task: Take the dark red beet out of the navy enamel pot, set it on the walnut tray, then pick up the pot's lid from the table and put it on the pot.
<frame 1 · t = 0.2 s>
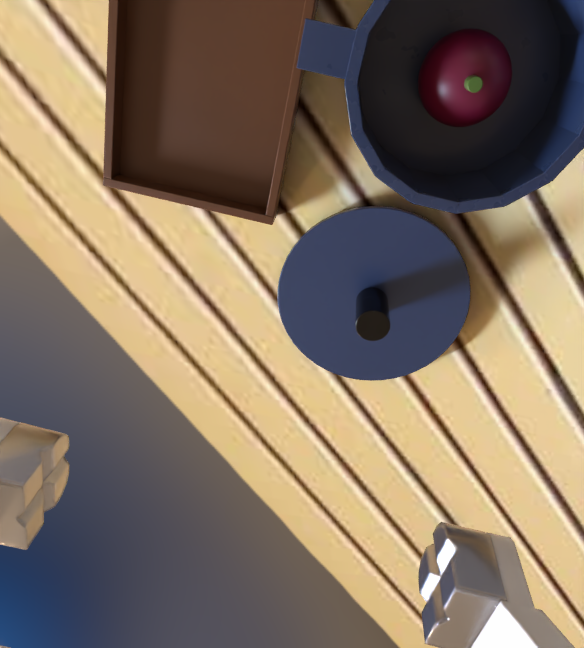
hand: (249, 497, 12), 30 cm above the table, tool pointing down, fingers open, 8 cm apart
beet: (456, 76, 34), resting on pot
lid: (371, 298, 41), point 1 cm above the table
pot: (455, 75, 34), on the table
tray: (210, 71, 36), on the table
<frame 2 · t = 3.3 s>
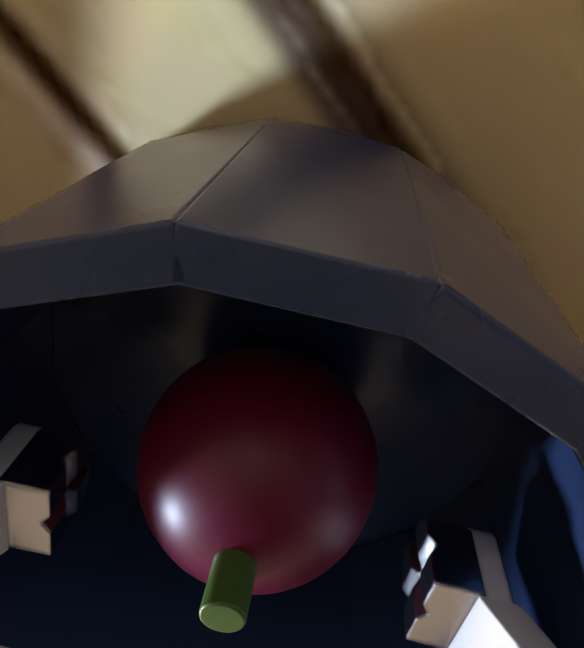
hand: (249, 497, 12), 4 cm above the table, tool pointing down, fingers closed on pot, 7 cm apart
beet: (275, 393, 14), resting on pot
pot: (278, 382, 15), on the table
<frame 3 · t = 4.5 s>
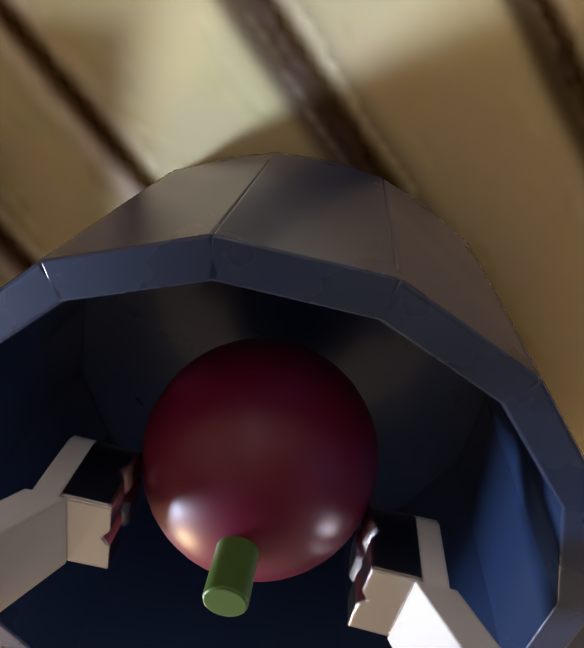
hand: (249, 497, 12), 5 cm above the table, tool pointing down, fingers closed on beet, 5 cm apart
beet: (277, 385, 14), point 2 cm above the table, touching gripper
pot: (279, 376, 17), on the table
when the fingers open (4 cm above the table, at t = 10.1 s): beet stays where it is, resting on tray.
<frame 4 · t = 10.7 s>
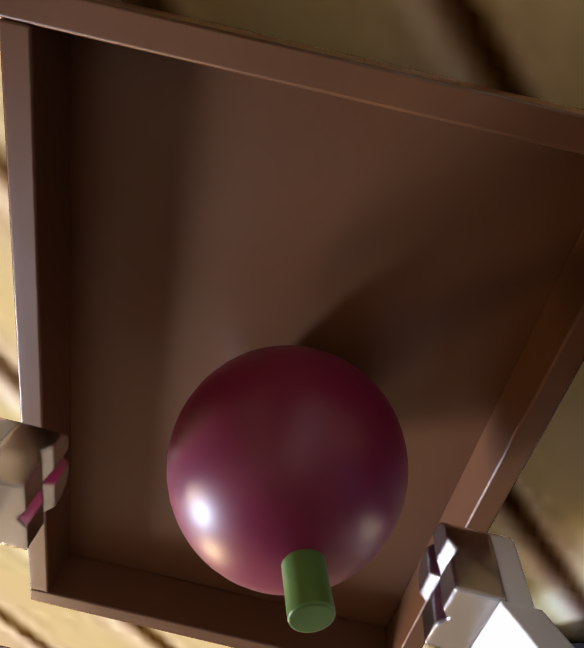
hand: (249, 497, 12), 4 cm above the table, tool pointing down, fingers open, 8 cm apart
beet: (276, 393, 14), point 1 cm above the table, tilted 13°, touching tray
tray: (273, 394, 15), on the table
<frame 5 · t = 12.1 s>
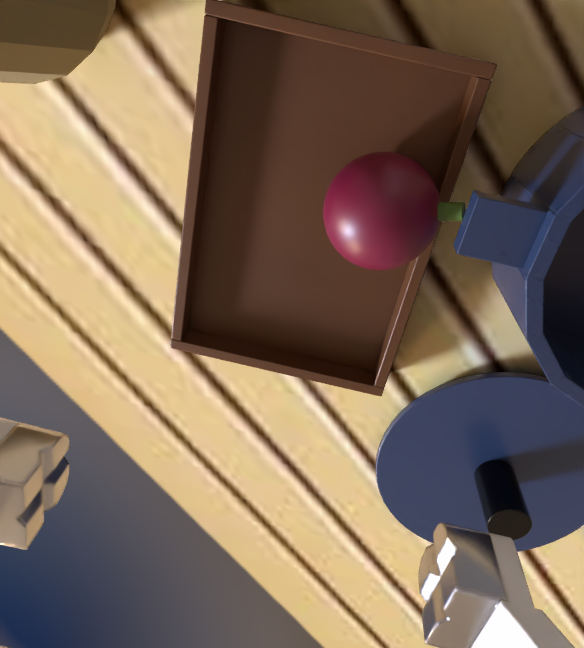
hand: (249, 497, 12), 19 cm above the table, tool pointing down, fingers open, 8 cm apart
beet: (327, 212, 25), point 2 cm above the table, tilted 72°, touching tray
lid: (492, 468, 34), point 1 cm above the table
tray: (311, 216, 28), on the table
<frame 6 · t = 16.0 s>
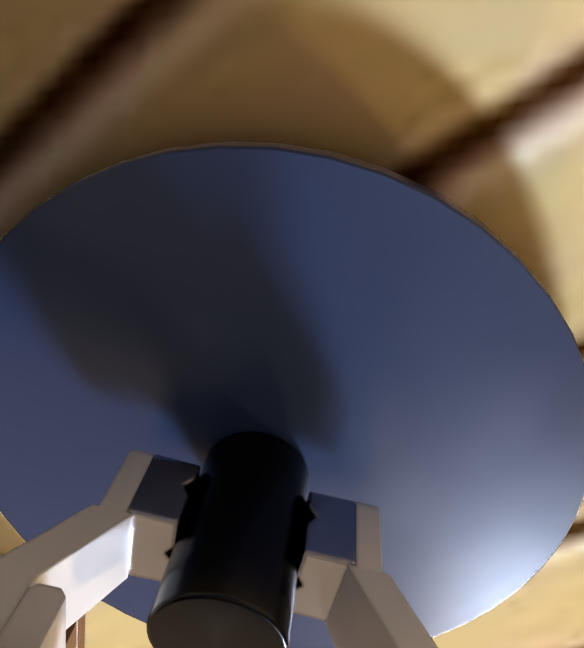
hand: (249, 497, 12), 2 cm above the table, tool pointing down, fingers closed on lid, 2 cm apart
lid: (260, 456, 13), point 1 cm above the table, touching gripper
when the fingers open (8 cm above the table, at t = 21.5 s): lid stays where it is, resting on pot.
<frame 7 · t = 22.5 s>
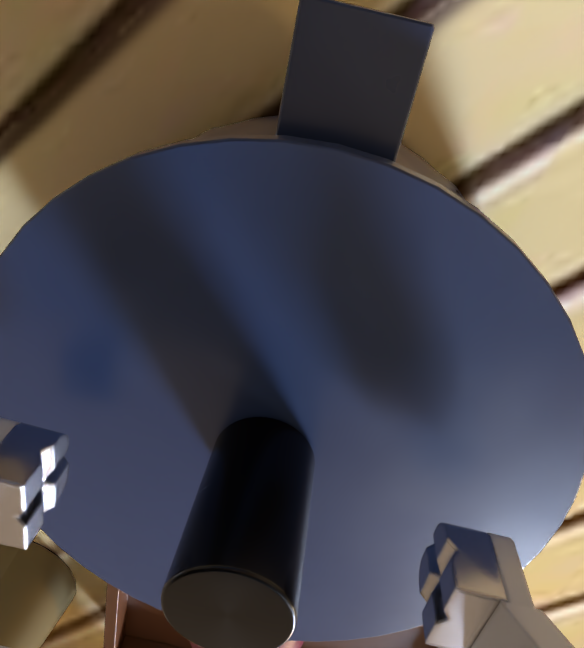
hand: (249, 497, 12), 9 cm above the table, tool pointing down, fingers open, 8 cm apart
lid: (267, 442, 13), point 7 cm above the table, touching pot
pot: (296, 313, 19), on the table
tray: (291, 595, 27), on the table
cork: (23, 571, 29), on the table
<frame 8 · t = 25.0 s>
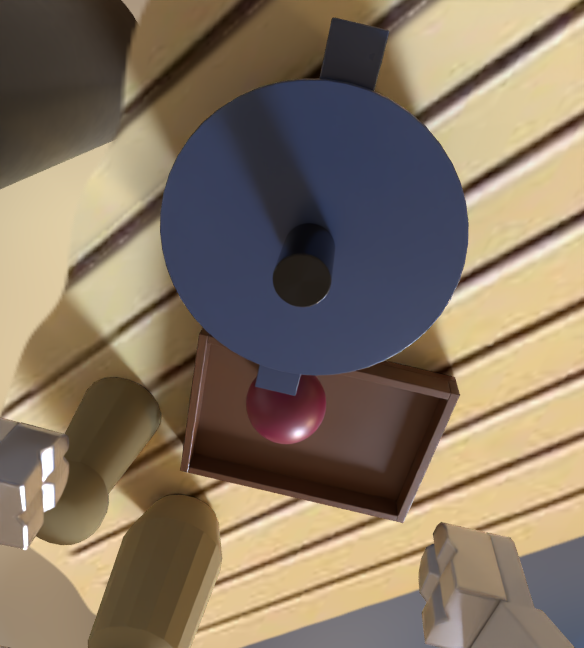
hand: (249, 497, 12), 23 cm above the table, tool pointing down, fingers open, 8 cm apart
beet: (293, 427, 37), point 3 cm above the table, tilted 75°, touching tray
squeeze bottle: (185, 516, 46), on the table
lid: (310, 243, 26), point 7 cm above the table, touching pot
pot: (319, 203, 32), on the table
tray: (311, 417, 39), on the table
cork: (123, 408, 41), on the table
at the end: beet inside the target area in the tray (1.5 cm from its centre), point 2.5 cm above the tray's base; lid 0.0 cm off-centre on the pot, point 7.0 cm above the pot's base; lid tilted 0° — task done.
